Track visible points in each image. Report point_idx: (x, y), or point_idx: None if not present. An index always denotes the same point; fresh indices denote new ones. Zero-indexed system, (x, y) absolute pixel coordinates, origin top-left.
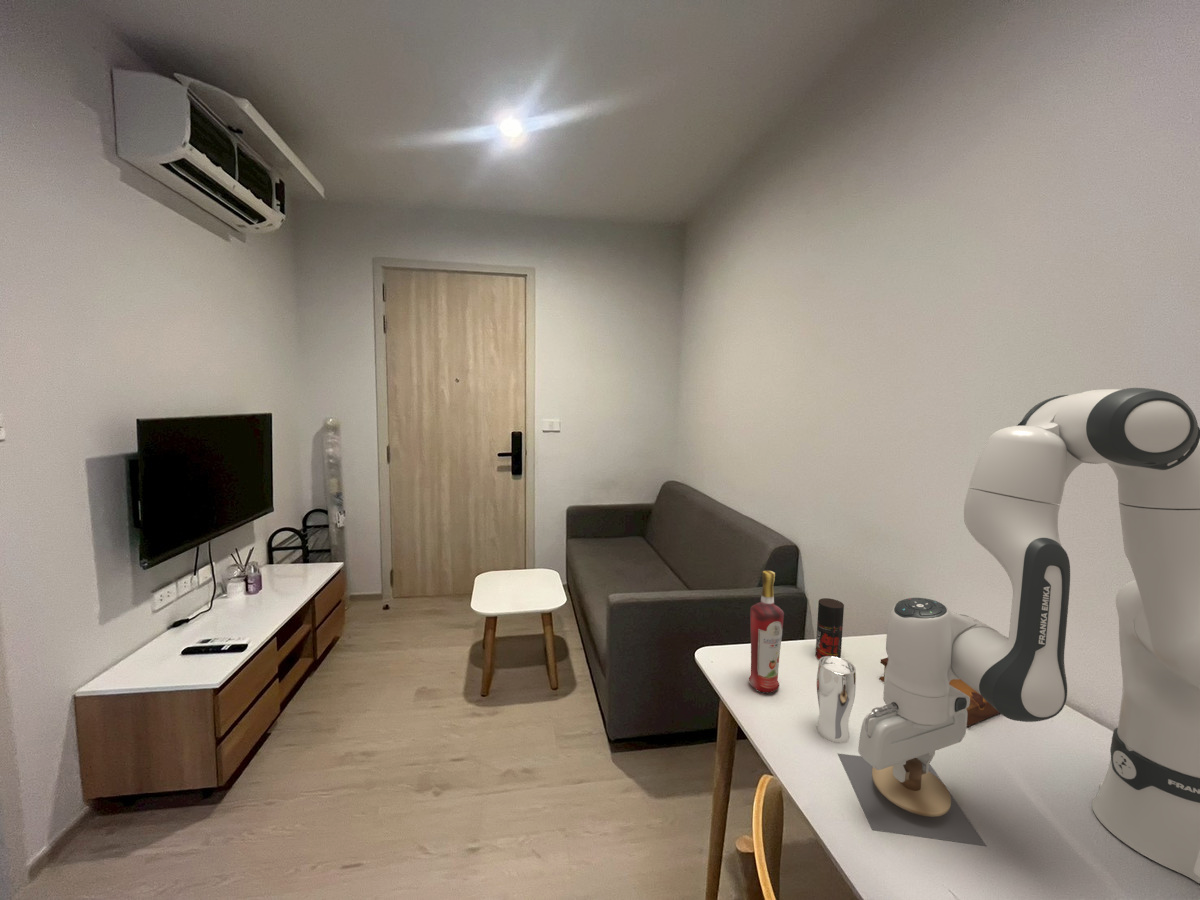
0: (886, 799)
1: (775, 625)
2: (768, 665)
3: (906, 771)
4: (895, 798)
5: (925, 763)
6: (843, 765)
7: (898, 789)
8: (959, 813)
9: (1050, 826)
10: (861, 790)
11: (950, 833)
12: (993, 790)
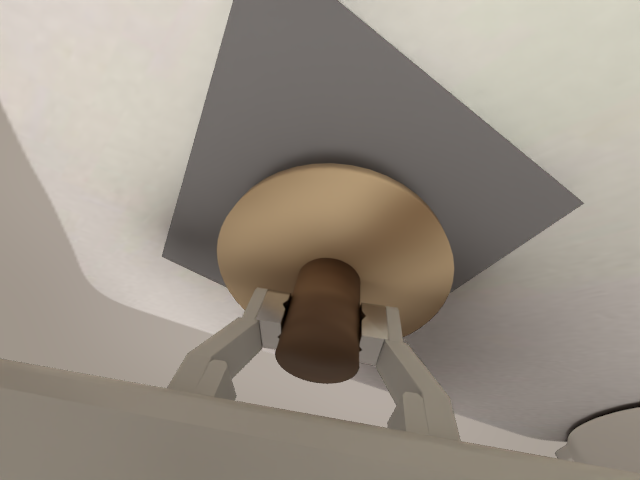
0: None
1: None
2: None
3: (270, 345)
4: (232, 286)
5: (378, 369)
6: (223, 39)
7: (269, 277)
8: None
9: (540, 374)
10: (213, 172)
11: None
12: (594, 311)
